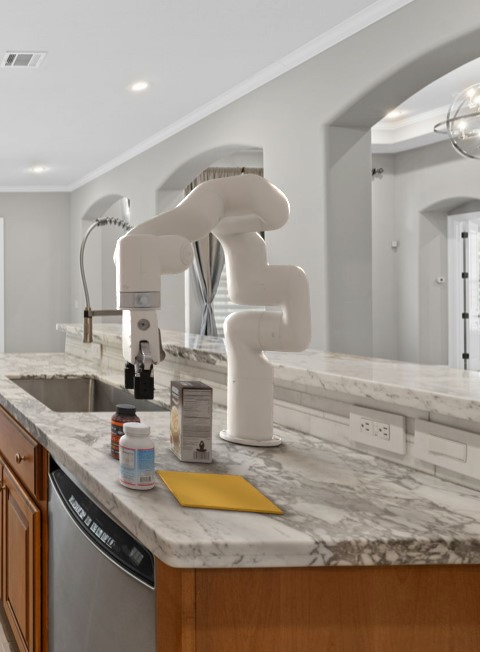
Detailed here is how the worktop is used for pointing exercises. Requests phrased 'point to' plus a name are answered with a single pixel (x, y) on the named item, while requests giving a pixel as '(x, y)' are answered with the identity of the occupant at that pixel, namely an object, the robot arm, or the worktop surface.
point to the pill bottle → (137, 457)
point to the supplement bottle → (121, 425)
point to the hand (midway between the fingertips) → (138, 393)
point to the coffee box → (191, 421)
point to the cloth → (216, 492)
